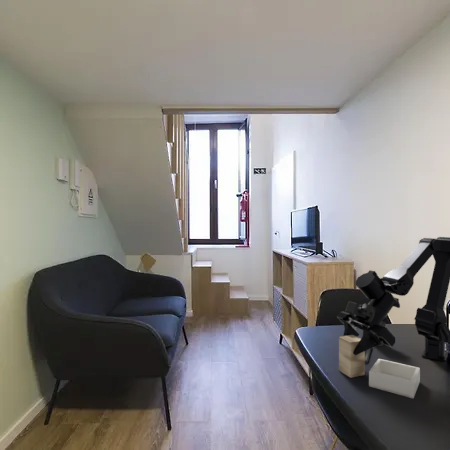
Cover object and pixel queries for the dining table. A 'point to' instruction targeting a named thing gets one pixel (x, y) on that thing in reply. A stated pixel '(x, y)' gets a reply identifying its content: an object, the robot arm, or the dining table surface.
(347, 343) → the wood block
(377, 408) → the dining table surface
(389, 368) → the box
